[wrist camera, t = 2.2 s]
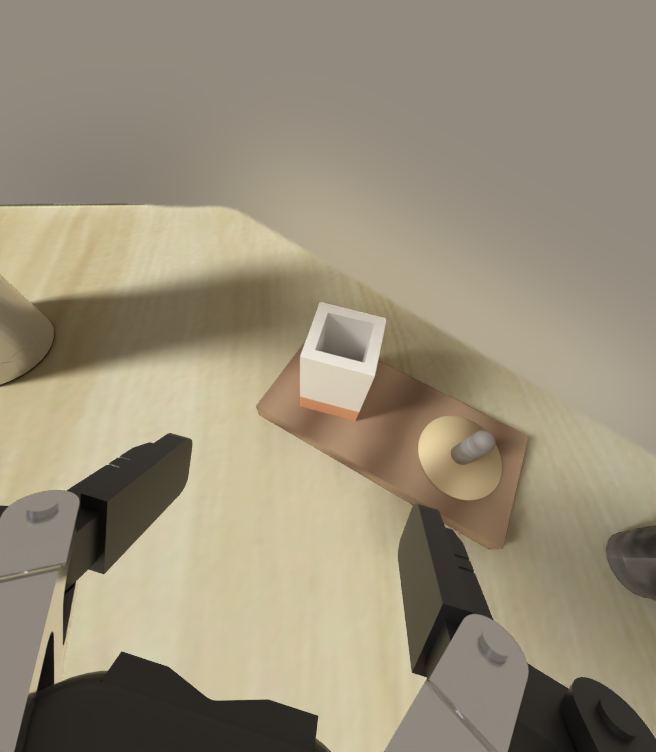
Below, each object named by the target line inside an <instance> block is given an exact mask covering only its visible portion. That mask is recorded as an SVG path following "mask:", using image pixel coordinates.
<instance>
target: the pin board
mask: <svg viewBox="0 0 656 752" xmlns="http://www.w3.org/2000/svg"><path fill="white" fill-rule="evenodd" d="M304 344H305V342H304ZM304 344H303V345H302V346H301V348H300V349H299V350H298V352H297V353H296V354H295V356H294V357H293V358H292V360H291V361H290V362H289V363H288V365H287V366H286V367H285V369H284V370H283V371H282V373H281V374H280V375H279V377H278V378H277V379H276V381H275V382H274V383H273V385H272V386H271V387H270V389H269V390H268V391H267V392H266V394H265V395H264V396H263V398H262V399H261V400H260V402H259V403H258V404H257V406H256V407H257V410H258V413H259V415H260V416H262V417H264V418H265V419H267V420H269V421H270V422H272V423H274V424H276V425H277V426H279V427H281V428H282V429H284V430H286V431H288V432H289V433H291V434H293V435H294V436H296V437H298V438H300V439H301V440H303V441H305V442H306V443H308V444H310V445H312V446H313V447H315V448H317V449H318V450H320V451H322V452H323V453H325V454H327V455H329V456H330V457H332V458H334V459H335V460H337V461H339V462H341V463H342V464H344V465H346V466H347V467H349V468H351V469H353V470H354V471H356V472H358V473H359V474H361V475H363V476H365V477H366V478H368V479H370V480H371V481H373V482H375V483H377V484H378V485H380V486H382V487H383V488H385V489H387V490H389V491H390V492H392V493H394V494H395V495H397V496H399V497H400V498H402V499H404V500H406V501H407V502H409V503H411V504H412V505H414V504H415V503H417V504H421V505H424V506H428V507H431V508H435V509H438V510H439V512H440V514H441V517H442V520H443V523H445V524H447V525H448V526H450V527H452V528H454V529H455V530H457V531H459V532H460V533H462V534H464V535H465V536H467V537H469V538H471V539H472V540H474V541H476V542H477V543H479V544H481V545H483V546H484V547H486V548H488V549H503V546H504V542H505V537H506V533H507V528H508V524H509V520H510V515H511V511H512V506H513V502H514V498H515V493H516V489H517V484H518V480H519V476H520V471H521V467H522V462H523V458H524V454H525V449H526V445H527V440H528V436H527V435H525V434H523V433H521V432H519V431H517V430H515V429H513V428H511V427H509V426H507V425H505V424H503V423H501V422H499V421H497V420H495V419H493V418H491V417H489V416H487V415H485V414H483V413H481V412H479V411H477V410H475V409H473V408H471V407H469V406H467V405H465V404H463V403H461V402H459V401H457V400H456V399H454V398H452V397H450V396H448V395H446V394H444V393H442V392H440V391H438V390H436V389H434V388H432V387H430V386H428V385H426V384H424V383H422V382H420V381H418V380H416V379H414V378H412V377H410V376H408V375H406V374H404V373H402V372H400V371H398V370H396V369H394V368H392V367H390V366H388V365H386V364H384V363H382V362H380V361H378V363H377V368H376V373H375V377H374V379H373V382H372V384H371V386H370V388H369V391H368V393H367V395H366V398H365V400H364V402H363V405H362V407H361V409H360V412H359V414H358V416H357V418H356V421H353V420H349V419H345V418H341V417H338V416H334V415H330V414H327V413H323V412H319V411H316V410H312V409H308V408H304V407H301V406H300V355H301V352H302V350H303V347H304Z"/></svg>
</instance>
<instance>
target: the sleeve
mask: <svg viewBox="0 0 656 752" xmlns="http://www.w3.org/2000/svg"><path fill="white" fill-rule="evenodd" d="M386 320H387V318H383V317H379V316H375V315H371V314H367V313H363V312H359V311H355V310H351V309H347V308H343V307H339V306H335V305H331V304H327V303H323V302H320V303H319V306H318V308H317V311H316V314H315V317H314V319H313V322H312V325H311V328H310V330H309V333H308V336H307V339H306V341H305V344H304V347H303V350H302V352H301V355H300V406H301V407H304V408H308V409H312V410H316V411H319V412H323V413H327V414H330V415H334V416H338V417H341V418H345V419H349V420H353V421H356V418H357V416H358V414H359V412H360V409H361V407H362V405H363V402H364V400H365V398H366V395H367V393H368V391H369V388H370V386H371V384H372V382H373V379H374V377H375V373H376V368H377V363H378V358H379V354H380V349H381V344H382V339H383V334H384V329H385V325H386Z"/></svg>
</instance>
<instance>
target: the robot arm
mask: <svg viewBox="0 0 656 752" xmlns="http://www.w3.org/2000/svg"><path fill="white" fill-rule="evenodd" d="M53 338H54V328H53V326H52V323H51V322H50V321H49V319H48V318H47V317H46V316H45V315H44V314H42V313H41V312H40V311H39V310H38V309H37V308H36V307H35V306H34V305H33V304H32V303H30V302H29V301H28V300H27V299H26V298H25V297H24V296H23V295H22V294H21V293H20V292H19V291H18V290H17V289H16V288H14V287H13V286H12V285H11V284H10V283H9V282H8V281H7V280H6V279H5V278H4V277H2V276H1V275H0V384H3V383H6V382H9V381H11V380H13V379H15V378H17V377H19V376H21V375H23V374H24V373H26V372H27V371H29V370H30V369H32V368H33V367H34V366H35V365H36V364H37V363H39V362H40V361H41V360H42V359H43V357H44V356H45V355H46V354H47V352H48V351H49V349H50V347H51V345H52V342H53ZM191 452H192V440H191V439H190V438H186V437H183V436H179V435H176V434H172V433H169V434H167V435H165V436H164V437H162V438H161V439H159V440H158V441H156V442H155V443H150V442H149V443H146V444H143V445H140V446H137V447H134V448H132V449H130V450H129V451H127V452H126V453H124V454H123V455H121V456H120V458H116V459H115V460H113V461H112V462H110V463H109V465H106V466H104V467H103V468H101V469H99V470H98V471H96V472H95V473H93V474H92V475H90V476H89V477H87V478H85V479H84V480H82V481H81V482H79V483H78V484H76V485H75V486H73V487H71V488H70V489H68V490H67V491H64V490H49V491H42V492H38V493H34V494H31V495H28V496H26V497H23V498H21V499H19V500H17V501H16V502H14V503H13V504H11V505H10V506H0V752H331V751H330V750H329V749H328V748H327V747H326V746H325V745H324V744H323V743H321V742H320V741H319V740H318V739H316V731H317V722H318V716H317V715H314V714H311V713H308V712H305V711H302V710H299V709H296V708H293V707H290V706H286V705H283V704H280V703H277V702H274V701H271V700H230V701H214V700H211V699H209V698H207V697H206V696H204V695H203V694H202V693H201V692H199V691H198V690H197V689H196V688H194V687H193V686H192V685H191V684H189V683H188V682H187V681H186V680H184V679H183V678H182V677H181V676H179V675H178V674H177V673H176V672H174V671H173V670H172V669H171V668H169V667H167V666H164V665H161V664H158V663H155V662H152V661H149V660H146V659H143V658H140V657H137V656H134V655H131V654H128V653H125V652H121V653H120V654H119V656H118V657H117V659H116V660H115V662H114V663H113V665H112V666H111V668H110V669H109V670H108V671H99V672H92V673H86V674H83V675H79V676H75V677H71V678H69V679H66V680H64V681H62V680H63V669H64V661H65V654H66V649H67V643H68V638H69V632H70V626H71V621H72V615H73V610H74V604H75V599H76V593H77V587H78V579H79V578H80V577H81V576H82V575H83V574H84V573H85V572H86V571H87V570H88V569H89V570H92V571H95V572H98V573H102V574H105V573H106V572H107V571H108V570H109V568H110V567H111V566H112V565H113V564H114V563H115V562H116V561H117V560H118V559H119V558H120V557H121V556H122V555H123V554H124V553H125V552H126V551H127V550H128V548H129V547H130V546H131V545H132V544H133V543H134V542H135V541H136V540H137V539H138V538H139V537H140V536H141V535H142V534H143V533H144V532H145V531H146V529H147V528H148V527H149V526H150V525H151V524H152V523H153V522H154V521H155V520H156V519H157V518H158V517H159V516H160V515H161V514H162V513H163V512H164V511H165V509H166V508H167V507H168V506H169V505H170V504H171V503H172V502H173V501H174V500H175V499H176V498H177V497H178V496H179V495H180V493H181V492H182V491H183V489H184V487H185V485H186V482H187V479H188V475H189V467H190V459H191ZM398 562H399V571H400V579H401V587H402V595H403V603H404V612H405V620H406V628H407V636H408V645H409V653H410V661H411V669H412V673H415V674H418V675H421V676H424V677H427V680H426V681H425V683H424V684H423V686H422V688H421V689H420V691H419V693H418V695H417V696H416V698H415V700H414V701H413V703H412V705H411V707H410V708H409V710H408V712H407V713H406V715H405V717H404V719H403V720H402V722H401V724H400V725H399V727H398V729H397V731H396V732H395V734H394V736H393V737H392V739H391V741H390V742H389V744H388V746H387V748H386V749H385V751H384V752H656V739H655V737H654V736H653V734H652V733H651V731H650V730H649V728H648V727H647V725H646V724H645V723H644V722H643V720H642V719H641V718H640V717H639V715H638V714H637V713H636V712H635V711H634V710H633V709H632V708H631V707H630V706H629V705H628V704H627V703H626V702H625V701H624V700H623V699H622V698H621V697H620V696H618V695H617V694H616V693H615V692H613V691H612V690H611V689H609V688H608V687H606V686H605V685H603V684H601V683H599V682H597V681H595V680H593V679H590V678H586V677H580V678H577V679H575V680H574V682H573V683H572V685H571V686H570V688H569V689H568V688H567V687H565V686H563V685H562V684H560V683H558V682H557V681H555V680H554V679H552V678H550V677H549V676H547V675H545V674H544V673H542V672H540V671H539V670H537V669H535V668H534V667H532V666H531V665H529V664H528V663H527V660H526V658H525V655H524V653H523V651H522V650H521V648H520V646H519V645H518V643H517V642H516V641H515V639H514V638H513V637H512V636H511V635H510V634H509V633H508V632H507V631H506V630H505V629H504V628H503V627H502V626H500V625H499V624H498V623H496V622H495V621H494V620H493V618H492V615H491V613H490V610H489V608H488V605H487V603H486V600H485V598H484V595H483V593H482V590H481V588H480V585H479V582H478V580H477V577H476V575H475V574H474V570H473V567H472V565H471V562H470V561H469V557H468V555H467V552H466V549H465V547H464V544H463V543H462V542H461V540H460V539H459V538H458V536H457V535H456V534H455V533H454V531H453V530H451V529H448V528H445V526H444V523H443V520H442V517H441V514H440V512H439V510H438V509H435V508H431V507H428V506H424V505H421V504H417V503H415V504H414V505H413V507H412V510H411V512H410V515H409V518H408V520H407V523H406V526H405V528H404V531H403V534H402V537H401V539H400V543H399V549H398Z"/></svg>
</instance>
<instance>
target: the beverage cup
mask: <svg viewBox="0 0 656 752" xmlns="http://www.w3.org/2000/svg"><path fill="white" fill-rule="evenodd" d="M606 550H607V558H608V561H609V564H610V567H611V569H612V571H613V572H614V574H615V575H616V577H617V579H618V580H619V581H620V582H621V583H622V584H623V585H624V586H625V587H626V588H627V589H629V590H630V591H631V592H633V593H634V594H636V595H639V596H642V597H644V598H651V599H653V600H656V526H650V527H644V528H638V529H634V530H631V531H627V532H622V533H617V534H615V535H612V537H611V538H610V539H609V540H608V544H607V548H606Z"/></svg>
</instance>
